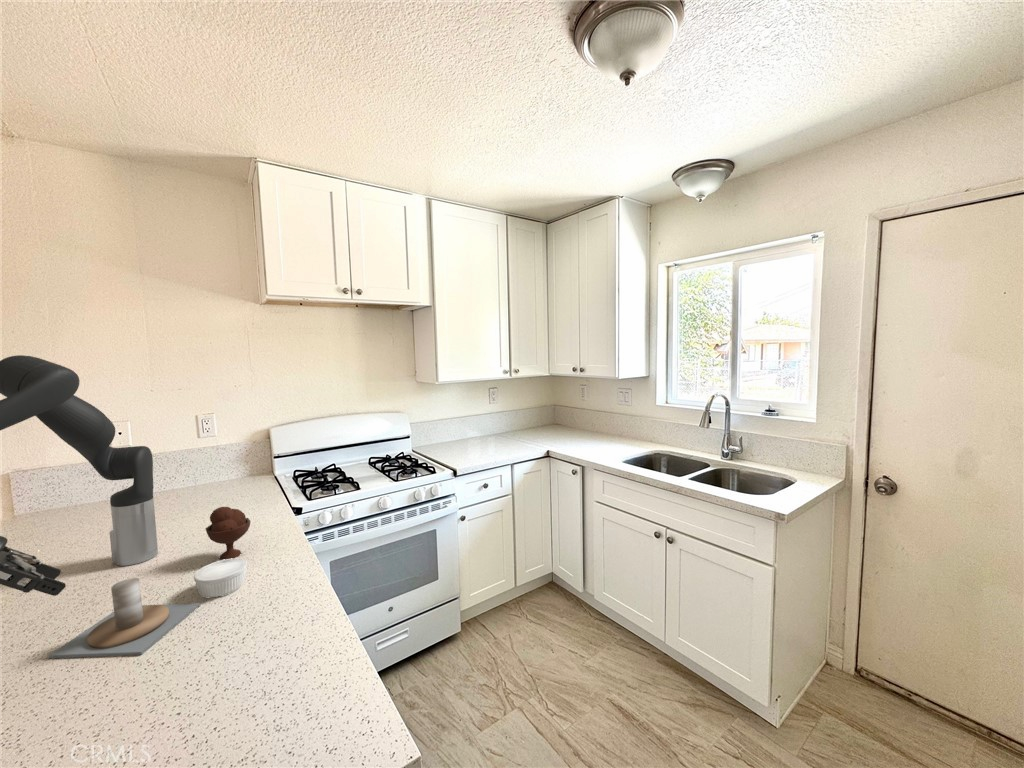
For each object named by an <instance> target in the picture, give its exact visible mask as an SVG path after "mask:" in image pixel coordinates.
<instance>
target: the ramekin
mask: <svg viewBox="0 0 1024 768" xmlns="http://www.w3.org/2000/svg"><path fill="white" fill-rule="evenodd" d="M248 564H249V563H248V561H247V559H243V558H238V557H236V558H233V559H226V560H218V561H214V562H212V563H209V564H207V565H204V566H202V567H201V568H200V569H198V570H197V571H196V572H195V573H194V576H193V580H194V582H195V585H196V587H197V591H198V593H199V595H200V596H201V597H203V598H206V597H209V598H208V599H212V598H211V597H216V598H219V597H218V596H221V597H223V596H222V595H224V596H226V595H225V594H227V595H229V594H228V593H230V594H232V593H234V592H236V591H238V588H239V589H240V588H241V587H242V586H243V584H244V583H245V581H246V577H247V569H248V566H249V565H248ZM235 590H236V591H235ZM233 591H234V592H233ZM231 592H232V593H231Z"/></svg>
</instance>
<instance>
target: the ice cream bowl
mask: <svg viewBox="0 0 1024 768" xmlns="http://www.w3.org/2000/svg"><path fill="white" fill-rule="evenodd" d="M209 521H210V523H211V524H210V525H208V526H207V527H205V528H204V529H205V532H206V535H207V536H208V538H209V539H210V540H211V541H212V542H214V543H217V544H222V545H225V546H226V550H225V551H224V552H222V553H221V554H220V555H219V557H220V558H219V560H220V559H225V560H226V559H231V558H235V557H236V558H238V557H240V556H241V555H242V551H241V550H240V549H236V548H234V543H236V542H237V541H238V540H240V539H241V538H242V537H243V536H244V535H246V533H247V532H248V530H249V528H250V526H251V519H250V518H249V517H246V515H245V512H243V511H242V510H241V509H238V508H231V507H230V506H220V507H217V508H215V509H214V510H213V511H212V512H211V514H210V517H209ZM240 554H241V555H240ZM239 555H240V556H239Z"/></svg>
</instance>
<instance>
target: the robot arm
mask: <svg viewBox="0 0 1024 768" xmlns="http://www.w3.org/2000/svg"><path fill="white" fill-rule="evenodd" d="M79 387H80V377H79V375H78V373H76V372H75V371H74V370H72V369H71V368H69V367H66V366H63V365H61V364H58V363H56V362H52V361H48V360H45V359H43V358H40V357H37V356H33V355H32V356H31V355H22V354H20V355H19V354H18V355H12V356H7V357H5V358H3V359H1V360H0V395H2V396H4V398H3V399H0V431H2V430H5V429H8V428H10V427H12V426H15V425H17V424H20V423H22V422H25V421H26V420H28V419H31V418H33V417H36V418H37V419H38V420H39V421H40V422H42V423H43V425H45V426H46V427H47V428H48V429H50V430H51V431H52V432H53V433H54V434H56V435H57V437H59V438H60V439H61V440H62V441H63V442H65V443H66V444H67V445H68V446H70V447H72V449H74V450H75V451H77V452H78V453H79V454H80V455H81V456H82V457H84V459H85V460H86V461H87V462H88V463H89V464H90V465H91V466H92V468H93V469H94V470H95V471H96V472H97V473H98V474H99V475H100V476H101V477H102V478H104V479H105V480H108V481H124V480H132V479H133V483H132V485H130V486H129V487H127V488H124V489H122V490H118V491H117V492H114V493H113V494H112V495H110V499H109V501H110V503H109V505H110V512H111V520H112V521H111V523H112V530H110V532H109V539H110V540H109V542H110V549H111V551H110V552H111V562H112V564H116V565H117V566H118V567H119V566H122V567H123V566H124V567H126V566H132V565H137V564H140V563H143V562H147V561H148V560H151V559H153V558H155V557H156V556H157V555H159V548H158V546H159V545H158V537H157V525H156V513H155V501H154V499H155V498H154V459H153V452H152V451H151V448H149V446H145V445H137V446H124V447H123V446H122V447H113V446H110V445H112V442H113V441H114V439H115V435H116V427H115V425H114V422H112V420H110V418H109V417H107V415H106V414H105V413H104V412H102V410H100V409H98V408H97V407H96V406H95V405H93V404H91V403H89V402H87V401H86V400H84V399H82V398H80V397H78V396H77V395H75V394H76V393H77V391H78V389H79ZM7 543H8V538H7V537H5V536H2V535H0V585H2V586H5V587H8V588H12V589H14V590H17V591H20V592H22V593H27V594H28V593H30V592H31V591H37V592H41V593H43V594H47V595H50V596H53V597H54V596H58V595H59V594H60V593H61V592H63V590H64V589H65V588H66V586H67V584H66V583H65V582H63V581H60V580H57V577H58V576H59V575H61V573H62V571H61V569H60V568H57V567H54V566H51V565H48V564H45V563H43V562H42V561H41V560H40V559H38V558H37V556H35V555H31V554H29V553H25V552H22V551H19V550H17V549H13V548H11V547H8V546H7ZM27 579H29V581H28V582H26V580H27Z"/></svg>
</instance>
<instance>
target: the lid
mask: <svg viewBox="0 0 1024 768" xmlns="http://www.w3.org/2000/svg"><path fill="white" fill-rule="evenodd" d="M110 590H111V596H112V605H113V612H114V615H115V616H114V617H112V618H110V619H108V620H106V621H104V622H103V623H101V624H100V625H98V626H97V627H96V628H94V629H93V630H92V631H91V632H90V634H89V635H88V637H87V641H88V645H89V646H90V647H92V648H110V647H115V646H119V645H123V644H126V643H129V642H131V641H134V640H137V639H139V638H141V637H143V636H145V635H147V634H149V633H151V632H152V631H154V630H156V629H157V628H158V627H160V626H161V625H162V624H163V623H164V622H165V621H166V620H167V619H168V617H169V609H168V607H166V606H164V605H165V604H147V605H148V606H143V607H142V605H143V601H142V594H141V593H142V592H141V591H142V590H141V585H140V578H137V577H132V578H131V577H130V578H127V579H123V580H121V581H118V582H117V583H115V584H113V585H112V586H111V589H110Z"/></svg>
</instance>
